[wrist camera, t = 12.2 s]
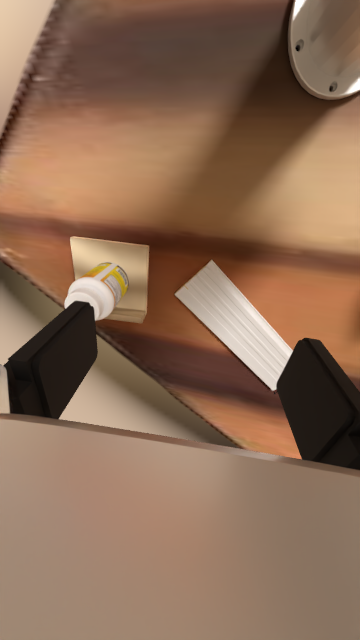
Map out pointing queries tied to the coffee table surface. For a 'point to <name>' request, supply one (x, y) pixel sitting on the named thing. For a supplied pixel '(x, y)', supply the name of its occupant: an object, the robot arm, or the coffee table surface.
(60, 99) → the coffee table surface
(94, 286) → the supplement bottle
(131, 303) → the shelf
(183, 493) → the robot arm
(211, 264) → the baseboard
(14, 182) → the coffee table surface
